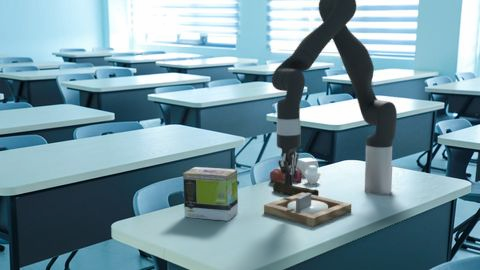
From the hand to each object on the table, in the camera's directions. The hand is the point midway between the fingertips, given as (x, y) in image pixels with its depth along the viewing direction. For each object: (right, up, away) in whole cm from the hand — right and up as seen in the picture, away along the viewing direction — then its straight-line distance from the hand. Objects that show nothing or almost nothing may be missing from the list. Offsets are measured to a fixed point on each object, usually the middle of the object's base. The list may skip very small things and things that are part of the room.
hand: (289, 185), depth 196 cm
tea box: (-25, -10, +1) cm, 27 cm away
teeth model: (+2, -2, +42) cm, 42 cm away
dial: (+6, -9, +3) cm, 11 cm away
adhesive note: (+12, 0, +54) cm, 55 cm away
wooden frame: (+6, -9, +3) cm, 11 cm away
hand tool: (+3, -6, +22) cm, 23 cm away
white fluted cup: (+12, -2, +40) cm, 42 cm away
